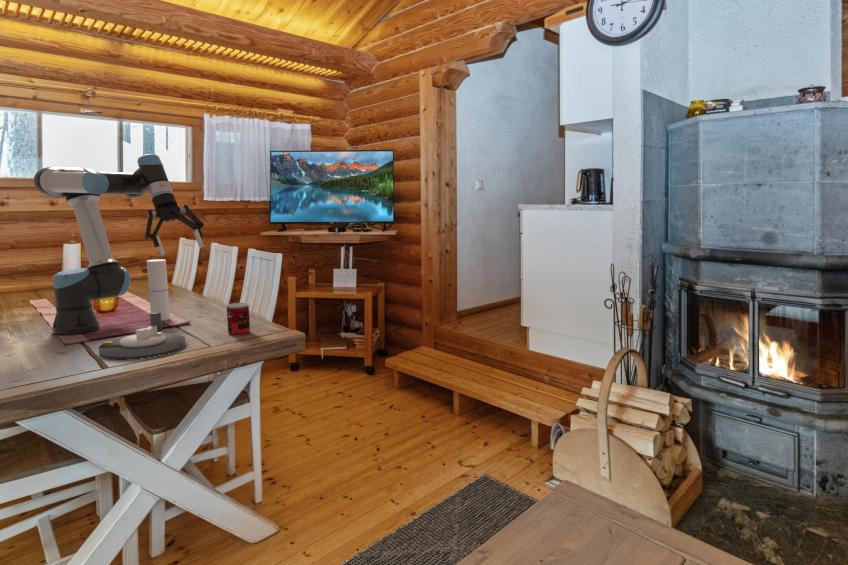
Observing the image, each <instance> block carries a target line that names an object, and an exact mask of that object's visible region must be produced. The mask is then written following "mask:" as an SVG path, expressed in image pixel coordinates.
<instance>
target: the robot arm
mask: <svg viewBox="0 0 848 565" xmlns="http://www.w3.org/2000/svg"><path fill="white" fill-rule="evenodd" d="M137 166H138V169H136V170H135V171H134V172H107V171H96V170H93V169H91V168H85V167H66V166H65V167H63V166H48V167H47V166H46V167H44V168H41V169H39V170H38V171H36V173H35V174H34V176H33V184H34V187H35V188H36V189H37V191H38V192H40V193H41V194H43V195H45V196H48V197H53V198H65V201H66V203H67V205H69V206H70V207H72V208H73V212H74V216H75V219H76V222H77V226H78V229H79V234H80V235H81V236H80V237H81V239H82V243H83V246H84V249H85V253H86V257H87V260H88V263H89V264H88V266H86V268H85V267H78V268H70V269H66V270H61V271H59V272H56V273H55V274H54V275H53V276H52V287H53V294H54V301H55V302H54V303H55V310H56V311H55V312H56V313H55V317H54V321H53V325H52V334H54V335H59V334H63V336H64V335H66V336H67V335H69V334H70V335H78V334H79V333H80V334H85V333H90V332H94V331H96V330H99V329H100V322H99V320H98V317H97V315H96V313H95V311H94V309H93V301H97V300H103V299H109V298H110V299H111V298H113V299H114V298H116V297H120V296H123V295H125V294H126V293H128V291H129V289H130V286H131V276H130V273H129V271H128V270H127V268H125V267H123V266H121V265H120V262H119V261H118V260H117V259H115V258H114V257H113V256H114V255H113V253H112V249H111V244H110V242H109V238H108V236H107V232H106V229H105V226H104V222H103V218H102V215H101V211H100V208H99V204H98V202H99V201H100V200H101V198H100V197H101V196H102V195H124V196H125V197H127V198H130V199H138V198H140V197H142V196H144V195H145V194H146V193H148V194H149V196H150V199H151V201H152V205H153V208H154V210H151V209H149V210H148V211H147V212H146V216H147V222H146V228H145V233H144V238H145V239H150V240H151V241H152V243H153V246H154V247H155V248H157V249H158V251H159V254H160V256H161V257H163V256H165V254H166V252H165V249H164V247H163V244H162V241H161V238H160V236H158V233H159V232H160V231H159V230H160V228H161V227H162V225H163V223H164V222H170V221H171V222H172V221H173V222H174V221H178V222H181V223H182V224H184V225H185V226H188V227H189V228H190V229H192V230H193V234H194V237H195V241H196V242H197V246H198V248H199V249H202V248H203V247H204V242H203V240H202V239H203V233H202V229H203V228H204V226H205V224H204V222H203V221H201V220H200V219H199V218H198V217H197V216H196V214H194V213H193V211H191V210H190V208H189V206H188V205H187V204H183V206H179V205H178V202H177V199H176V197H175V194H173V193H174V192H173V190H172V187H171V186H172V185H171V184H170V182H169V178H168V176H167V173H166V170H165V168H164V164H163V162H162V160H161V159H160V156H158V155H157V154H155V153H146V154H144V155H141V156H139V157H138V158H137ZM181 212H182V213H184V214H182V213H181ZM184 215H185V216H184ZM155 216H157V217H158V218H159V219H158V222H157V223H156V225H155V228H154V230H153V232H152V233H151V231H152V226H153V225H152V224H153V219H154V218H155ZM186 216H187V217H186ZM70 335H69V336H70Z"/></svg>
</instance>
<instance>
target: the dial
mask: <svg viewBox="0 0 848 565" xmlns="http://www.w3.org/2000/svg"><path fill="white" fill-rule="evenodd" d="M149 321H150V322H149V323H150V325H149V326H148V327H146V328H137V329H135V334H134V335H128V337H127V336H124V337H125V338H122V337H121V338H122V339H121V340H120V341H119V342H120V346H122V347H128V348H137V347H147V346H153V345H157V344H160V343H163V342H165V341H166V335H164V334H159V332H163V321H162V320H161V313H160V312H154V313H151V312H150V313H149Z"/></svg>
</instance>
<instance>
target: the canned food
mask: <svg viewBox="0 0 848 565" xmlns="http://www.w3.org/2000/svg"><path fill="white" fill-rule="evenodd" d="M226 319H227V320H226V321H227V333H228V334H229V336H243V335H242V334H245V335H248V334H250V332H251V328H250V325H251V324H250V306H249V303H247V302H234V303H233V302H232V303H228V304H227V305H226ZM247 333H248V334H247Z"/></svg>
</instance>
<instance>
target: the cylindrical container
mask: <svg viewBox="0 0 848 565" xmlns="http://www.w3.org/2000/svg"><path fill="white" fill-rule="evenodd" d="M146 267H147V280H148V281H147V282H148V292H149V293H148V294H149V306H150V313H154V312H160V313H161V320H165V321H168V320H167V319H169V320H171V312H170V310H171V309H170V299H169V296H170V295H169V282H168V272H167V271H168V270H167V260H166V259H164V258H161V259H149V260H146Z"/></svg>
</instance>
